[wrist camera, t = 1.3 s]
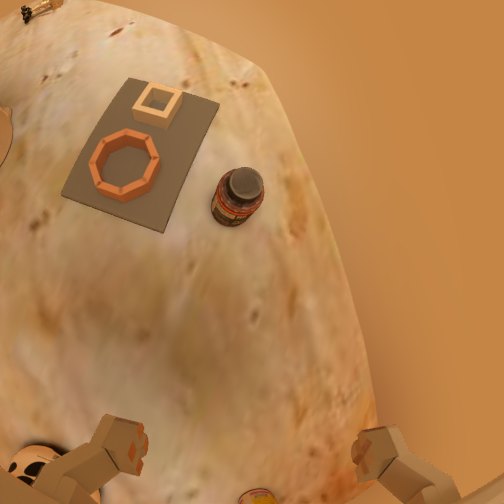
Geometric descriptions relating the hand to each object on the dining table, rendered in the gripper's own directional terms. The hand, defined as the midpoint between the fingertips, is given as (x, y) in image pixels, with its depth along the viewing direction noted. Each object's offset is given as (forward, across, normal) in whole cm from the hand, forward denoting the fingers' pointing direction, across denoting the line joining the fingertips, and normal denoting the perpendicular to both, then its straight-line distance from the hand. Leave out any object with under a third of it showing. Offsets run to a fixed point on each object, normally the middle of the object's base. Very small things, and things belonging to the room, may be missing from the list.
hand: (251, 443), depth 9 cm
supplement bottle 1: (+37, +4, -2) cm, 37 cm away
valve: (+48, +60, -57) cm, 96 cm away
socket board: (+37, +18, -12) cm, 43 cm away
